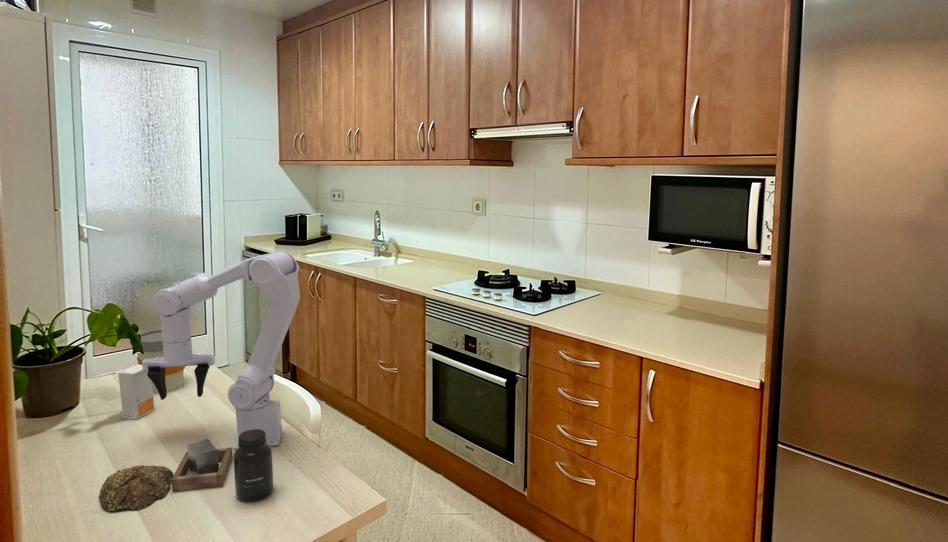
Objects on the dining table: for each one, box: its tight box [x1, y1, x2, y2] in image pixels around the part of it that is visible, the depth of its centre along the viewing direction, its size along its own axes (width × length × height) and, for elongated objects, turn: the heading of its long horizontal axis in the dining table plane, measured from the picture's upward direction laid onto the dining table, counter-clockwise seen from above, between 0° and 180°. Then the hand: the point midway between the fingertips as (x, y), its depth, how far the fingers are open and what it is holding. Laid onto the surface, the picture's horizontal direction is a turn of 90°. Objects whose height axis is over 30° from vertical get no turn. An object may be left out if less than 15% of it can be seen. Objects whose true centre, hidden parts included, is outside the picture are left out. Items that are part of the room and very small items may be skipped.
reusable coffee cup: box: [136, 328, 186, 394], centre depth 158 cm, size 13×13×15 cm
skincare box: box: [118, 363, 156, 421], centre depth 141 cm, size 6×4×12 cm
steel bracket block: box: [186, 438, 220, 475], centre depth 115 cm, size 6×4×6 cm, turn 42°
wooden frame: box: [171, 447, 234, 493], centre depth 115 cm, size 9×11×2 cm
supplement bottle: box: [233, 429, 274, 503], centre depth 108 cm, size 7×7×12 cm
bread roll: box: [97, 464, 175, 513], centre depth 109 cm, size 13×12×5 cm
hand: (182, 396), depth 130 cm, fingers open, 7 cm apart
